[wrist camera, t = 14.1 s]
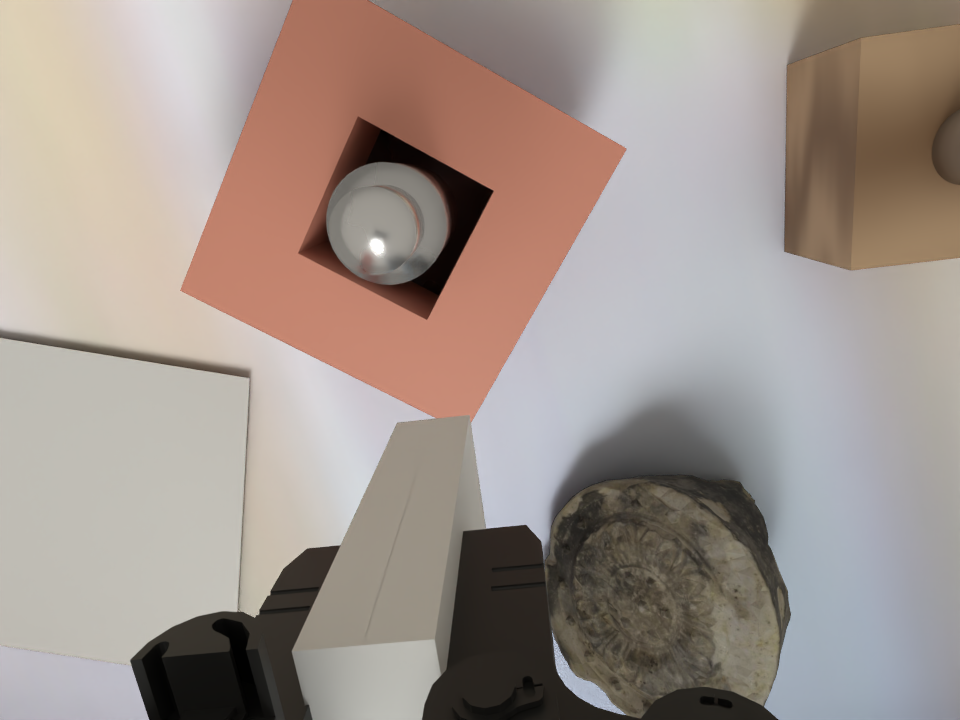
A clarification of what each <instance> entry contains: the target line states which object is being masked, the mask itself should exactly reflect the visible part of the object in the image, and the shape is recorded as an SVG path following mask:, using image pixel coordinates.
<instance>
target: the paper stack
mask: <svg viewBox="0 0 960 720" xmlns="http://www.w3.org/2000/svg"><path fill="white" fill-rule="evenodd" d="M249 384H250V378H246V377H240V376H233V375H227V374H221V373H215V372H209V371H202V370H196V369H190V368H184V367H178V366H171V365H165V364H159V363H153V362H147V361H141V360H134V359H128V358H122V357H116V356H110V355H103V354H97V353H91V352H85V351H79V350H72V349H66V348H60V347H54V346H48V345H41V344H35V343H29V342H23V341H17V340H10V339H4V338H0V646H6V647H13V648H19V649H26V650H32V651H39V652H45V653H52V654H58V655H65V656H72V657H78V658H85V659H91V660H98V661H104V662H111V663H117V664H124V665H130V666H132V665H131V662H130V659H131V658H132V657H133V656H135V655H136V654H137V653H138V652H139V651H140V650H141V649H142V648H143V647H144V646H145V645H146V644H147V643H148V642H149V641H151V640H152V639H154V638H156V637H157V636H159V635H160V634H162V633H163V632H165V631H167V630H168V629H170V628H171V627H173V626H175V625H178V624H180V623H183V622H185V621H188V620H190V619H192V618H195V617H197V616H201V615H206V614H211V613H216V612H221V611H230V612H238V593H239V574H240V555H241V536H242V517H243V498H244V479H245V460H246V441H247V422H248V403H249Z"/></svg>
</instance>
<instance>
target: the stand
mask: <svg viewBox="0 0 960 720" xmlns="http://www.w3.org/2000/svg"><path fill="white" fill-rule="evenodd" d="M784 252H787V253H791V254H794V255H798V256H802V257H805V258H809V259H812V260H816V261H819V262H823V263H826V264H830V265H833V266H837V267H841V268H844V269H848V270H859V269H867V268H876V267H884V266H893V265H902V264H910V263H919V262H927V261H936V260H945V259H953V258H960V24H956V25H949V26H942V27H935V28H928V29H920V30H913V31H906V32H899V33H892V34H884V35H877V36H870V37H863V38H859V39H856V40H854V41H851V42H848V43H846V44H843V45H840V46H837V47H835V48H832V49H829V50H827V51H824V52H821V53H818V54H816V55H813V56H810V57H807V58H805V59H802V60H799V61H797V62H794V63H791V64H788V65H787V112H786V181H785V249H784Z"/></svg>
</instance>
